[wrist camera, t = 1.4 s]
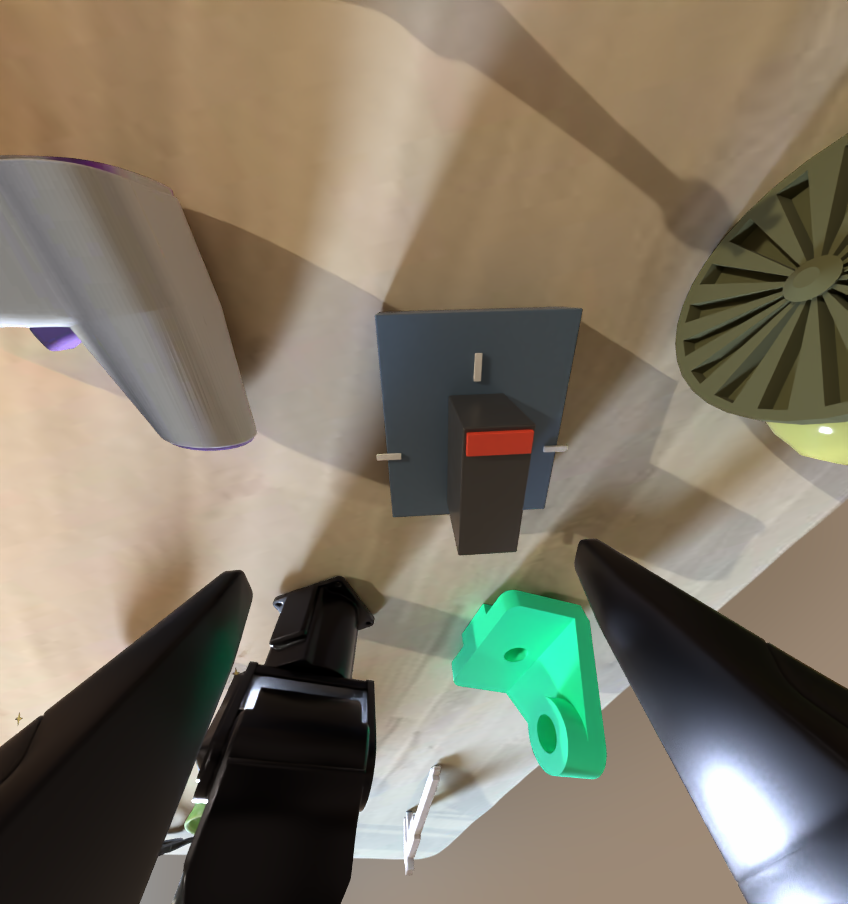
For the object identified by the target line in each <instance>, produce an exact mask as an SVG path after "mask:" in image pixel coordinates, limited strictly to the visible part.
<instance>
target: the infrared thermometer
mask: <svg viewBox="0 0 848 904" xmlns="http://www.w3.org/2000/svg"><path fill="white" fill-rule="evenodd" d="M0 327H30V330H31V332H32V333H33V334H34V335H35V337H36V338H37V339H38V340H39V341H40V342H41V343H42V344H43V345H44V346H45V347H46V348H47V349H49V350H51V351H59V350H65V349H72V348H75V347H76V346H77V345H78V344H80V343H81V342H82V343H83V344H84V345H85V346H86V348H87V349H88V350H89V351H90V352H91V354H92V355H93V356H94V357H95V358H96V360H97V361H98V362H99V363H100V364H101V366H102V367H103V368H104V369H105V370H106V372H107V373H108V374H109V375H110V376H111V378H112V379H113V380H114V381H115V382H116V384H117V385H118V386H119V387H120V388H121V390H122V391H123V392H124V393H125V394H126V396H127V397H128V398H129V399H130V400H131V402H132V403H133V404H134V405H135V406H136V408H137V409H138V410H139V411H140V412H141V414H142V415H143V416H144V417H145V418H146V420H147V421H148V422H149V423H150V424H151V426H152V427H153V428H154V429H155V431H156V432H157V433H158V434H159V435H160V436H161V438H163V439H164V440H166V441H168V442H170V443H172V444H173V445H176V446H179V447H182V448H186V449H191V450H202V451H216V450H226V449H232V448H237V447H240V446H243V445H246V444H247V443H249V442H251V441H252V440H253V438H254V437H255V435H256V433H257V430H256V426H255V423H254V420H253V416H252V413H251V410H250V406H249V403H248V400H247V396H246V393H245V389H244V386H243V382H242V379H241V375H240V371H239V368H238V364H237V361H236V357H235V354H234V350H233V346H232V343H231V339H230V336H229V332H228V328H227V325H226V321H225V318H224V314H223V310H222V307H221V304H220V301H219V299H218V296H217V294H216V291H215V289H214V286H213V284H212V282H211V279H210V277H209V274H208V272H207V269H206V267H205V264H204V262H203V259H202V257H201V255H200V252H199V250H198V247H197V245H196V242H195V240H194V237H193V235H192V232H191V230H190V227H189V225H188V222H187V220H186V217H185V215H184V212H183V210H182V207H181V205H180V203H179V200H178V198H177V197H175V196H174V195H173V191H172V190H171V189H170V188H169V187H167V186H165V185H164V184H161V183H159V182H157V181H155V180H152V179H150V178H147V177H145V176H142V175H140V174H137V173H134V172H131V171H128V170H125V169H122V168H119V167H115V166H111V165H108V164H104V163H99V162H94V161H88V160H82V159H74V158H63V157H48V156H26V155H0Z"/></svg>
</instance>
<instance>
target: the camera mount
mask: <svg viewBox="0 0 848 904" xmlns="http://www.w3.org/2000/svg"><path fill="white" fill-rule="evenodd" d="M462 638H463V644H464V646H463V647H462V649H461V650H460V652H459V653H458V654H457V656H456V657H455V659H454V660H453V661H452V670H453V678H454V683H455V684H456V685H458V686H462V687H469V688H476V689H482V690H489V691H496V692H502V693H507V695H508V696H509V698H510V699H511V700H512V702H513V703H514V705H515V706H516V707H517V709H518V710H519V711H520V713H521V714H522V716H523V717H524V718H525V720H526V721H527V723H528V730H529V738H530V742H531V746H532V750H533V753H534V755H535V757H536V759H537V761H538V763H539V765H540V766H541V767H542V769H543V770H544V771H545V772H546V773H548V774H550V775H552V776H562V777H573V778H587V779H596V778H598V777H599V776H601V774H602V773H603V771H604V769H605V765H606V757H607V753H606V744H605V736H604V728H603V721H602V713H601V705H600V697H599V689H598V682H597V674H596V667H595V659H594V651H593V644H592V636H591V628H590V621H589V620H588V618H587V616H586V614H585V613H584V611H583V609H582V607H581V606H580V605H577V604H573V603H568V602H564V601H560V600H556V599H552V598H547V597H543V596H539V595H535V594H530V593H526V592H522V591H518V590H509V591H506V592H504V593H502V594H501V595H500V596H499V598H498V599H497V600H496V602H495V603H494V605H493V606H492V605H487V604H483V605H482V606H481V608H480V609H479V610H478V612H477V613H476V615H475V616H474V618H473V619H472V620H471V622H470V623H469V625H468V626H467V628H466V629H465V630H464V632H463V633H462Z"/></svg>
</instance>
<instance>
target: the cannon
mask: <svg viewBox="0 0 848 904" xmlns="http://www.w3.org/2000/svg"><path fill="white" fill-rule="evenodd" d="M675 346H676V355H677V362H678V365H679V368H680V371H681V373H682V376H683V378H684V379H685V381H686V382H687V384H688V385H689V386H690V388H691V389H692V391H694V392H695V393H696V394H697V395H698V396H700V397H701V398H702V399H703V400H704V401H706V402H707V403H709V404H711V405H713V406H715V407H717V408H719V409H721V410H723V411H725V412H727V413H731V414H735V415H739V416H743V417H747V418H751V419H756V420H761V421H765V422H766V424H767V425H768V426H769V428H770V429H771V430H772V432H773V433H774V434H775V435H776V436H777V437H779V438H780V439H781V440H783V441H784V442H785V443H786V444H788V445H789V446H790V447H791V448H793V449H794V450H795V451H796V452H797V453H798V454H800V455H802V456H806V457H811V458H815V459H819V460H824V461H828V462H833V463H838V464H843V465H848V134H846V135H845V136H843V137H842V138H840V139H839V140H837V141H836V142H834V143H833V144H831V145H830V146H829V147H827V148H826V149H824V150H823V151H821V152H820V153H818V154H817V155H815V156H814V157H812V158H811V159H809V160H808V161H806V162H805V163H804V164H803V165H801V166H800V167H799V168H798V169H796V170H795V171H794V172H793V173H791V174H790V175H789V176H788V177H786V178H785V179H784V180H783V181H781V182H780V183H779V184H778V185H776V186H775V187H774V188H773V189H772V190H771V191H770V192H768V193H767V194H766V195H765V196H764V197H763V198H762V199H761V200H760V201H759V202H758V203H757V204H756V205H755V206H754V207H753V208H751V209H750V210H749V211H748V212H747V213H746V214H745V215H744V216H743V217H742V219H741V220H740V221H739V222H738V223H737V224H736V225H735V226H734V227H733V229H732V230H731V231H730V232H729V233H728V234H727V235H726V236H725V237H724V239H723V240H722V241H721V242H720V244H719V245H718V247H717V248H716V249H715V251H714V252H713V253H712V255H711V256H710V257H709V259H708V260H707V261H706V263H705V264H704V266H703V268H702V269H701V271H700V273H699V274H698V276H697V278H696V279H695V281H694V283H693V284H692V286H691V289H690V291H689V293H688V295H687V298H686V300H685V302H684V304H683V307H682V311H681V314H680V318H679V321H678V325H677V333H676V342H675Z"/></svg>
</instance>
